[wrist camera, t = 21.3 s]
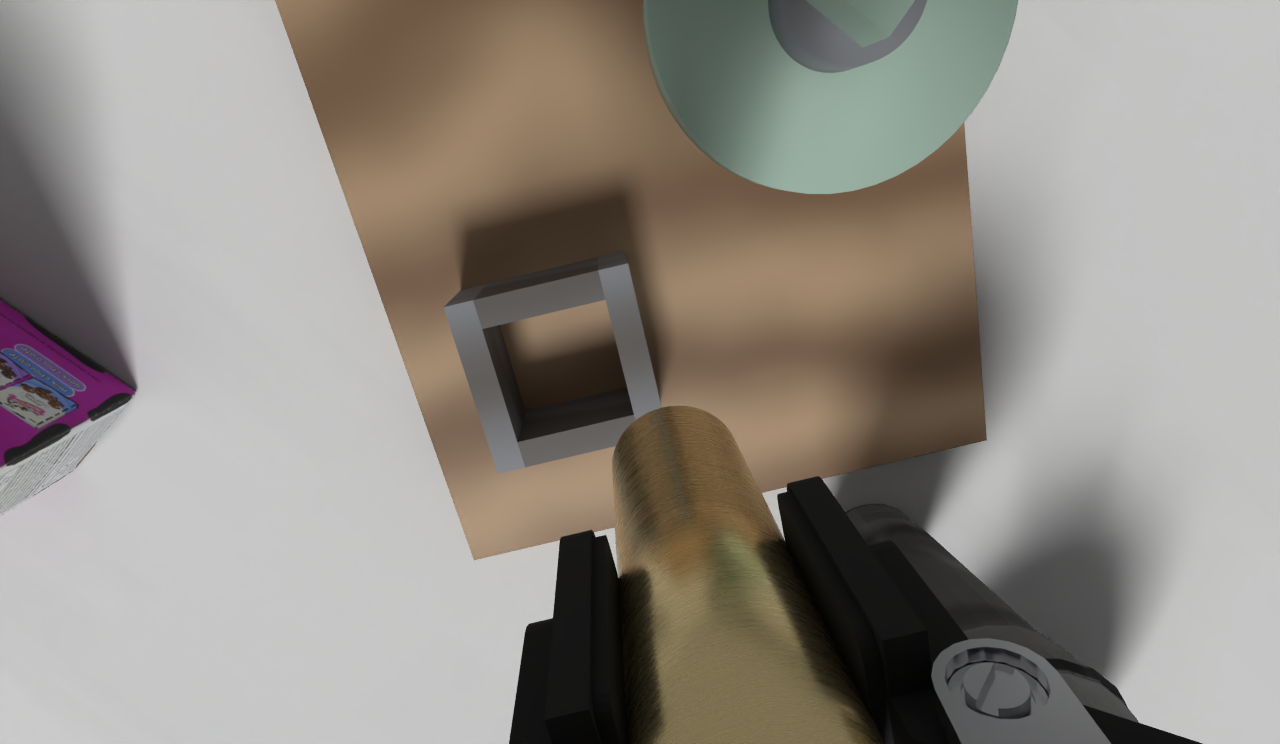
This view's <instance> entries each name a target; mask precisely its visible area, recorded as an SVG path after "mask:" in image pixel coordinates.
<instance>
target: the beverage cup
mask: <svg viewBox="0 0 1280 744" xmlns="http://www.w3.org/2000/svg"><path fill="white" fill-rule="evenodd" d="M846 514H847V516H848V517H849V519H850V520H851V522H852V523H853V524H854V526H855V527H856V529H857V530H858V532H859V533H860V534H861V536H862V537H863V539H864V540H865V542H866V543H867V544H870V543H874V542H878V541H883V540H887V539H888V540H892V541H893V542H894V543H895V544H896V546H897V547H898V548H899V549H900V551H901V552H902V553H903V555H904V556H905V557H906V558H907V560H908V561H909V562H910V564H911V565H912V566H913V568H914V569H915V570H916V571H917V573H918V574H919V575H920V577H921V578H922V579H923V581H924V582H925V583H926V584H927V586H928V587H929V588H930V590H931V591H932V592H933V593H934V595H935V596H936V597H937V599H938V600H939V601H940V603H941V604H942V605H943V606H944V608H945V609H946V610H947V612H948V613H949V614H950V616H951V617H952V618H953V619H954V621H955V622H956V623H957V625H958V626H959V627H960V628H961V630H962V631H963V632H964V634H965V635H966V636H967V638H968V639H984V638H990V639H997V640H1003V641H1009V642H1012V643H1015V644H1017V645H1020V646H1023V647H1026V648H1028V649H1030V650H1032V651H1033V652H1035V653H1037V654H1038V655H1040V656H1041V657H1043V658H1045V659H1046V660H1047V661H1048V662H1049V663H1050V664H1051V665H1052V666H1053V667H1054V668H1055V669H1056V670H1057V671H1058V673H1059V674H1060V675H1061V677H1062V678H1063V679H1064V681H1065V682H1066V683H1067V685H1068V686H1069V688H1070V689H1071V690H1072V692H1073V693H1074V694H1075V696H1076V697H1077V698H1078V700H1079V701H1080V702H1081V704H1083V705H1086V706H1089V707H1092V708H1095V709H1098V710H1101V711H1104V712H1107V713H1110V714H1113V715H1116V716H1119V717H1122V718H1125V719H1129V720H1132V721H1135V722H1138V721H1137V719H1136V718H1135V716H1134V715H1133V714H1132V713H1131V712H1130V710H1129V709H1128V707H1127V705H1126V703H1125V701H1124V699H1123V698H1122V696H1121V694H1120V692H1119V691H1118V689H1117V688H1116V687H1115V686H1114V685H1113V684H1111V683H1110V682H1109V681H1108V680H1106V679H1105V678H1104V677H1103V676H1101V675H1100V674H1099V673H1098V672H1096V671H1095V670H1094V669H1092V668H1089V667H1086V666H1084V665H1083V664H1082V663H1081V662H1079V661H1078V660H1077V659H1076V658H1074V657H1073V656H1072V655H1071V654H1069V653H1068V652H1066V651H1065V650H1064V649H1062V648H1061V647H1059V646H1058V645H1057V644H1055V643H1054V642H1052V641H1051V640H1050V639H1048V638H1047V637H1045V636H1044V635H1043V634H1040V633H1037V632H1036V631H1035V630H1034V629H1033V628H1032V627H1031V626H1030V625H1029V624H1028V623H1026V622H1025V621H1024V620H1023V619H1022V618H1021V617H1020V616H1019V615H1018V614H1017V613H1015V612H1014V611H1013V610H1012V609H1011V608H1010V607H1009V606H1008V605H1007V604H1005V603H1004V602H1003V601H1002V600H1001V599H1000V598H999V597H998V596H997V595H996V594H994V593H993V592H992V591H991V590H990V589H989V588H988V587H987V586H986V585H984V584H983V583H982V582H981V581H980V580H979V579H978V578H977V577H976V576H975V575H973V574H972V573H971V572H970V571H969V570H968V569H967V568H966V567H965V566H964V565H962V564H961V563H960V562H959V561H958V560H957V559H956V558H955V557H954V556H952V555H951V554H950V553H949V552H948V551H947V550H946V549H945V548H944V547H943V546H941V545H940V544H939V543H938V542H937V541H936V540H935V539H934V538H933V537H931V536H930V535H929V534H928V533H927V532H926V531H924V530H923V529H922V528H921V527H919V526H918V525H917V524H915V523H913V522H912V521H911V520H910V519H909V518H908V517H907V516H906V515H904V514H903V513H902V512H901V511H899V510H898V509H896V508H893V507H890V506H887V505H877V504H869V505H865V506H861V507H857V508H854V509H852V510H850V511H849V512H847V513H846ZM1138 723H1139V722H1138Z"/></svg>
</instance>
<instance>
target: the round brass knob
mask: <svg viewBox="0 0 1280 744" xmlns="http://www.w3.org/2000/svg"><path fill="white" fill-rule="evenodd" d="M612 481H613V499H614V517H615V535H616V553H617V571H618V578H619V593H620V611H621V628H622V646H623V663H624V680H625V698H626V715H627V732H628V744H885V743H884V741H883V739H882V736H881V734H880V732H879V730H878V728H877V726H876V724H875V722H874V720H873V719H872V717H871V715H870V713H869V711H868V709H867V707H866V705H865V703H864V701H863V698H862V696H861V694H860V692H859V690H858V688H857V686H856V684H855V682H854V680H853V678H852V676H851V674H850V672H849V670H848V668H847V666H846V664H845V662H844V660H843V658H842V656H841V654H840V652H839V650H838V648H837V646H836V644H835V642H834V640H833V638H832V636H831V634H830V631H829V629H828V627H827V625H826V623H825V621H824V619H823V617H822V615H821V613H820V611H819V609H818V607H817V605H816V603H815V601H814V599H813V597H812V595H811V593H810V591H809V589H808V587H807V585H806V583H805V581H804V579H803V577H802V575H801V573H800V571H799V569H798V567H797V564H796V562H795V560H794V558H793V556H792V554H791V552H790V550H789V548H788V546H787V544H786V542H785V540H784V538H783V536H782V534H781V532H780V530H779V528H778V526H777V524H776V522H775V520H774V518H773V516H772V513H771V511H770V509H769V507H768V505H767V503H766V501H765V499H764V497H763V495H762V493H761V491H760V489H759V487H758V485H757V483H756V481H755V479H754V477H753V475H752V473H751V471H750V469H749V467H748V465H747V463H746V461H745V459H744V457H743V455H742V453H741V451H740V449H739V447H738V445H737V443H736V441H735V438H734V436H733V435H732V433H731V432H730V430H729V429H728V428H727V427H726V425H725V424H724V423H723V422H722V421H720V420H719V419H718V418H717V417H715V416H714V415H712V414H710V413H708V412H706V411H704V410H701V409H698V408H695V407H690V406H668V407H662V408H659V409H656V410H653V411H651V412H648V413H646V414H644V415H643V416H641V417H640V418H638V419H637V420H636V421H634V422H633V423H632V424H631V425H630V426H629V427H628V428H627V429H626V430H625V431H624V433H623V434H622V435H621V437H620V439H619V441H618V442H617V445H616V447H615V450H614V453H613V458H612Z"/></svg>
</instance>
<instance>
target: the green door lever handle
mask: <svg viewBox="0 0 1280 744" xmlns="http://www.w3.org/2000/svg"><path fill="white" fill-rule="evenodd" d="M1017 4H1018V0H643V26H644V35H645V44H646V49H647V53H648V58H649V62H650V66H651V70H652V73H653V76H654V78H655V81H656V84H657V87H658V89H659V92H660V94H661V96H662V98H663V100H664V102H665V104H666V106H667V108H668V110H669V112H670V113H671V115H672V116H673V118H674V119H675V121H676V122H677V124H678V125H679V126H680V128H681V129H682V131H683V132H684V133H685V134H686V135H687V137H688V138H689V139H690V140H691V141H692V142H693V143H694V144H695V145H696V147H697V148H698V149H700V150H701V151H702V152H703V153H704V154H705V155H707V156H708V157H709V158H710V159H711V160H713V161H714V162H715V163H717V164H718V165H720V166H721V167H723V168H724V169H726V170H728V171H729V172H731V173H732V174H734V175H737V176H739V177H741V178H743V179H746V180H748V181H750V182H752V183H756V184H759V185H763V186H766V187H770V188H774V189H779V190H784V191H791V192H798V193H805V194H834V193H842V192H849V191H855V190H858V189H862V188H866V187H869V186H873V185H876V184H878V183H881V182H883V181H886V180H888V179H891V178H893V177H895V176H897V175H899V174H901V173H903V172H904V171H906V170H908V169H910V168H911V167H913V166H915V165H917V164H918V163H919V162H921V161H922V160H924V159H925V158H926V157H928V156H929V155H930V154H932V153H933V152H934V151H936V150H937V149H938V148H939V147H940V146H941V145H942V144H943V143H944V142H946V141H947V140H948V139H949V138H950V137H951V136H952V135H953V134H954V133H955V132H956V131H957V130H958V128H959V127H960V126H961V125H962V124H963V123H964V121H965V120H966V119H967V118H968V117H969V115H970V114H971V113H972V112H973V110H974V109H975V107H976V106H977V104H978V103H979V101H980V100H981V98H982V97H983V95H984V94H985V92H986V91H987V89H988V87H989V85H990V83H991V81H992V79H993V77H994V75H995V73H996V72H997V70H998V68H999V65H1000V63H1001V60H1002V58H1003V55H1004V52H1005V50H1006V47H1007V45H1008V42H1009V38H1010V35H1011V31H1012V27H1013V24H1014V20H1015V16H1016V10H1017Z"/></svg>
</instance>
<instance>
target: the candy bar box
mask: <svg viewBox="0 0 1280 744" xmlns="http://www.w3.org/2000/svg"><path fill="white" fill-rule="evenodd" d="M134 395H135V391H134V390H133V389H131V388H130V387H129V386H128V385H126V384H125V383H124V382H122V381H121V380H119V379H118V378H116V377H115V376H113V375H112V374H110V373H109V372H107V371H106V370H104V369H103V368H102V367H100V366H99V365H97V364H96V363H94V362H93V361H91V360H90V359H88V358H87V357H85V356H84V355H82V354H81V353H79V352H78V351H76V350H75V349H73V348H72V347H70V346H69V345H67V344H66V343H64V342H63V341H61V340H60V339H58V338H57V337H55V336H54V335H52V334H51V333H49V332H48V331H47V330H45V329H44V328H42V327H41V326H39V325H38V324H36V323H35V322H33V321H32V320H30V319H29V318H27V317H26V316H24V315H23V314H21V313H20V312H18V311H17V310H15V309H14V308H12V307H11V306H9V305H8V304H6V303H5V302H3V301H2V300H0V517H1V516H2V515H4V514H6V513H7V512H9V511H10V510H12V509H14V508H15V507H17V506H18V505H20V504H21V503H23V502H25V501H26V500H28V499H29V498H31V497H32V496H34V495H36V494H37V493H39V492H40V491H42V490H44V489H45V488H47V487H49V486H50V485H52V484H53V483H55V482H57V481H58V480H60V479H61V478H63V477H64V476H66V475H67V474H69V473H70V472H72V471H73V470H74V469H76V468H77V466H78V465H79V464H80V463H81V461H82V460H83V459H84V458H85V457H86V455H87V454H88V453H89V452H90V451H91V449H92V448H93V446H94V445H95V443H96V442H97V440H98V439H99V438H100V436H101V435H102V434H103V433H104V432H105V431H106V429H107V428H108V427H109V426H110V425H111V423H112V422H113V421H114V420H115V419H116V417H117V416H118V415H119V414H120V413H121V412H122V410H123V409H124V408H125V407H126V406H127V404H128V403H129V402H130V401H131V400H132V399H133V397H134Z"/></svg>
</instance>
